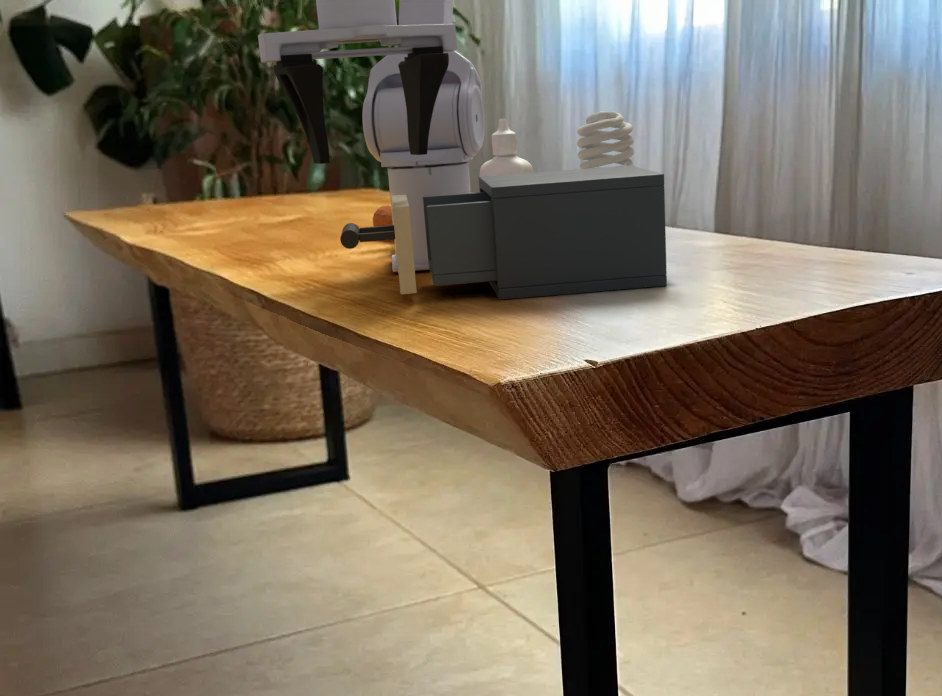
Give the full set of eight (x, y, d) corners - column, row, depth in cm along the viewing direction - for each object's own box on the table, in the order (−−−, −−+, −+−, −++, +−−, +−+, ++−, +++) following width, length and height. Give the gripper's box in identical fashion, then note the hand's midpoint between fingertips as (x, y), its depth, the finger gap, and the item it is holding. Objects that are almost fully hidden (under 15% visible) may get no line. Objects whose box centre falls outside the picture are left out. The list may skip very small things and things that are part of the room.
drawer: (344, 299, 90) (335, 211, 88) (348, 277, 101) (340, 199, 99) (555, 281, 91) (550, 194, 89) (536, 262, 102) (532, 184, 100)
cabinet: (499, 299, 91) (491, 187, 88) (485, 276, 103) (478, 176, 100) (667, 285, 91) (664, 174, 89) (634, 264, 103) (630, 165, 101)
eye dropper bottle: (519, 238, 127) (511, 117, 123) (542, 243, 122) (535, 116, 118) (480, 243, 125) (471, 120, 121) (501, 248, 120) (493, 120, 116)
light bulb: (648, 232, 124) (644, 108, 120) (611, 240, 120) (607, 111, 116) (606, 231, 128) (601, 110, 124) (569, 238, 124) (563, 114, 120)
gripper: (264, -40, 82) (288, 168, 87) (465, -46, 87) (479, 151, 92) (243, -28, 89) (267, 166, 93) (432, -35, 94) (447, 150, 98)
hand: (371, 158), depth 93 cm, fingers open, 7 cm apart
